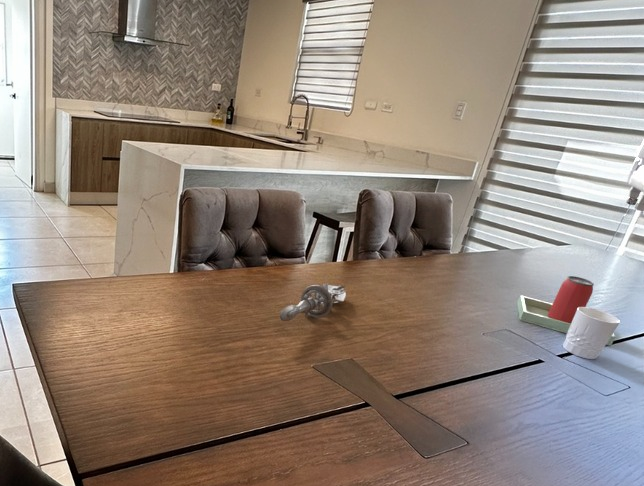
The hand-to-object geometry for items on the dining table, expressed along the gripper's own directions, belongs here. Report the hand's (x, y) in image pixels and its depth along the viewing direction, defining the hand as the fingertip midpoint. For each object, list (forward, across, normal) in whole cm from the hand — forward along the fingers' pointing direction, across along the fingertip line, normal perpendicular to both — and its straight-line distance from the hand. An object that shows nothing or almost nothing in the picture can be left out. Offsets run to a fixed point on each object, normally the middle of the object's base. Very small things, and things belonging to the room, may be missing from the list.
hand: (634, 207), depth 123 cm
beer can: (+31, -15, +7) cm, 35 cm away
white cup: (+31, -32, +5) cm, 45 cm away
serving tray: (+31, -15, +7) cm, 35 cm away
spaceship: (+31, -61, +62) cm, 92 cm away
